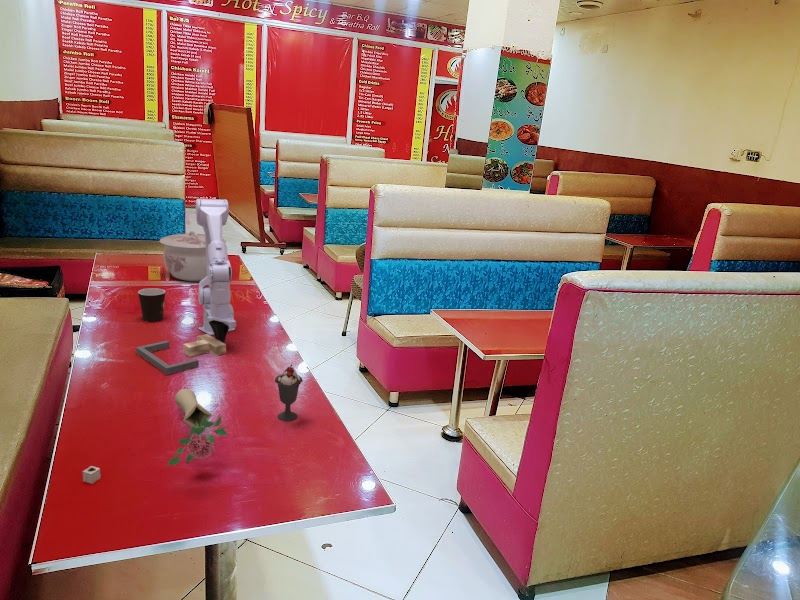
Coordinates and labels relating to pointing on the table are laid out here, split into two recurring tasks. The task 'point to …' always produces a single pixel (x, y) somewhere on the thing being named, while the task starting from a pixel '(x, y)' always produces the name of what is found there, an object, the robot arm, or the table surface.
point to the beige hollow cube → (91, 474)
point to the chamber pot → (186, 256)
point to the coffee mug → (152, 304)
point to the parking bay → (160, 364)
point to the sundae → (288, 392)
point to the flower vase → (196, 427)
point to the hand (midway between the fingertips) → (220, 342)
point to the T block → (204, 346)
